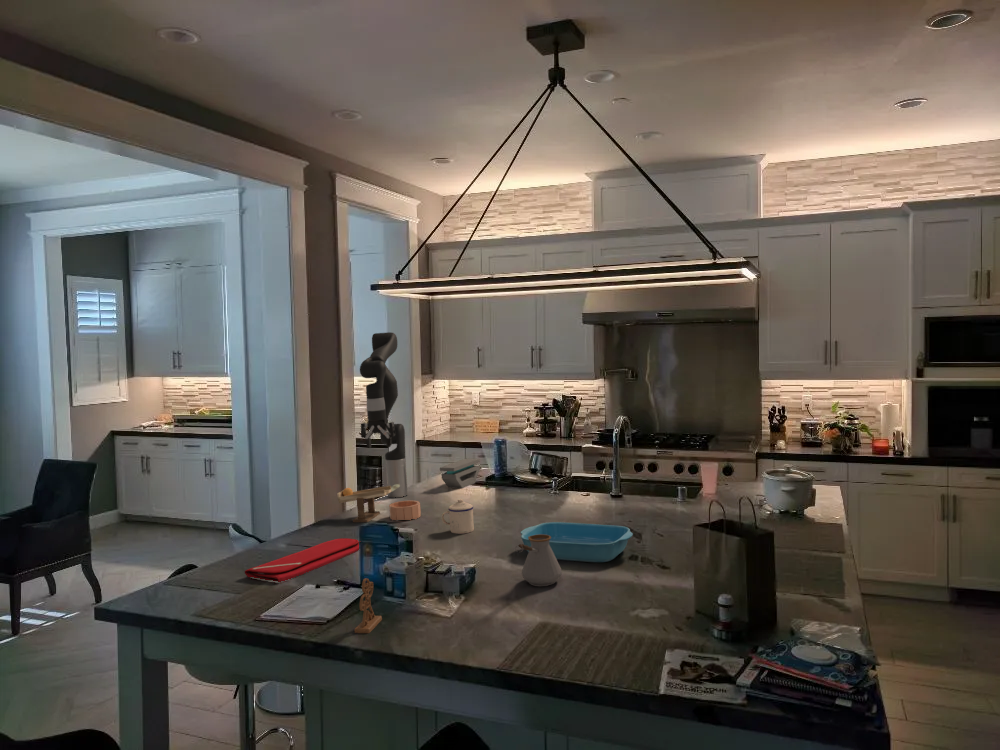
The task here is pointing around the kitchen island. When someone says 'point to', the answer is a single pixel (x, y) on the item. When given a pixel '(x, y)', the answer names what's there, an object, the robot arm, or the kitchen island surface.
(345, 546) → the dish drying mat
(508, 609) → the kitchen island surface
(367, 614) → the wooden sculpture
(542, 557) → the coffee pot
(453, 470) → the grey heat sealer
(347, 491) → the ball
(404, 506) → the terracotta bowl
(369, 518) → the ramp stand
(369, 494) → the ramp
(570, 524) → the casserole dish
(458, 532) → the teacup with lid
